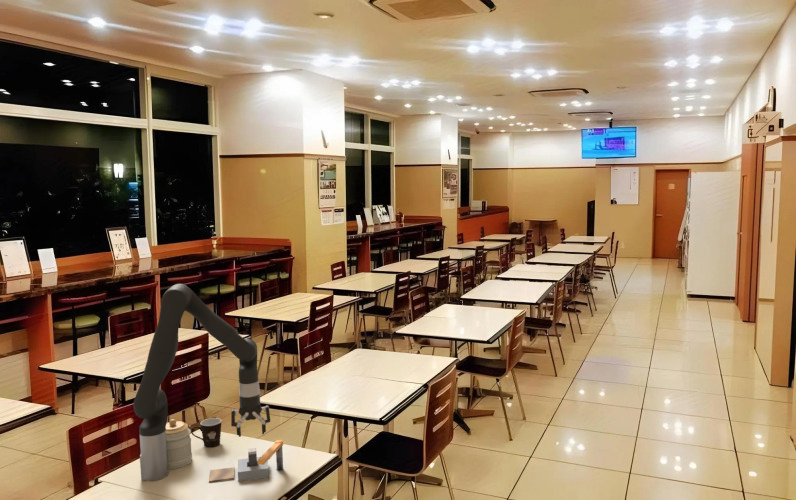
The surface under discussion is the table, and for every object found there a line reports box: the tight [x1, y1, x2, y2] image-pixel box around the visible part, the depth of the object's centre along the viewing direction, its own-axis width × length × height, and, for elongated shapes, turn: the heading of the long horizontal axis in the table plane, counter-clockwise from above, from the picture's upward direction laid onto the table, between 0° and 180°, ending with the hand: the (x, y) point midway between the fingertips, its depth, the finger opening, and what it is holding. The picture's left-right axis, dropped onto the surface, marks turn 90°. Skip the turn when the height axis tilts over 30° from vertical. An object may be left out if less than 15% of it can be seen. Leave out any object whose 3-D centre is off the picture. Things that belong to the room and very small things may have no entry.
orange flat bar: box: [257, 439, 284, 465], centre depth 227 cm, size 18×3×1 cm, turn 168°
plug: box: [247, 447, 258, 467], centre depth 232 cm, size 3×3×9 cm
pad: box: [208, 466, 235, 483], centre depth 231 cm, size 9×9×1 cm
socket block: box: [237, 456, 270, 482], centre depth 233 cm, size 11×11×4 cm
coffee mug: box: [190, 417, 222, 449], centre depth 259 cm, size 12×9×10 cm
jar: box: [166, 418, 193, 470], centre depth 242 cm, size 13×13×18 cm
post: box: [275, 446, 284, 472], centre depth 235 cm, size 2×2×9 cm
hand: (251, 434), depth 231 cm, fingers open, 8 cm apart
